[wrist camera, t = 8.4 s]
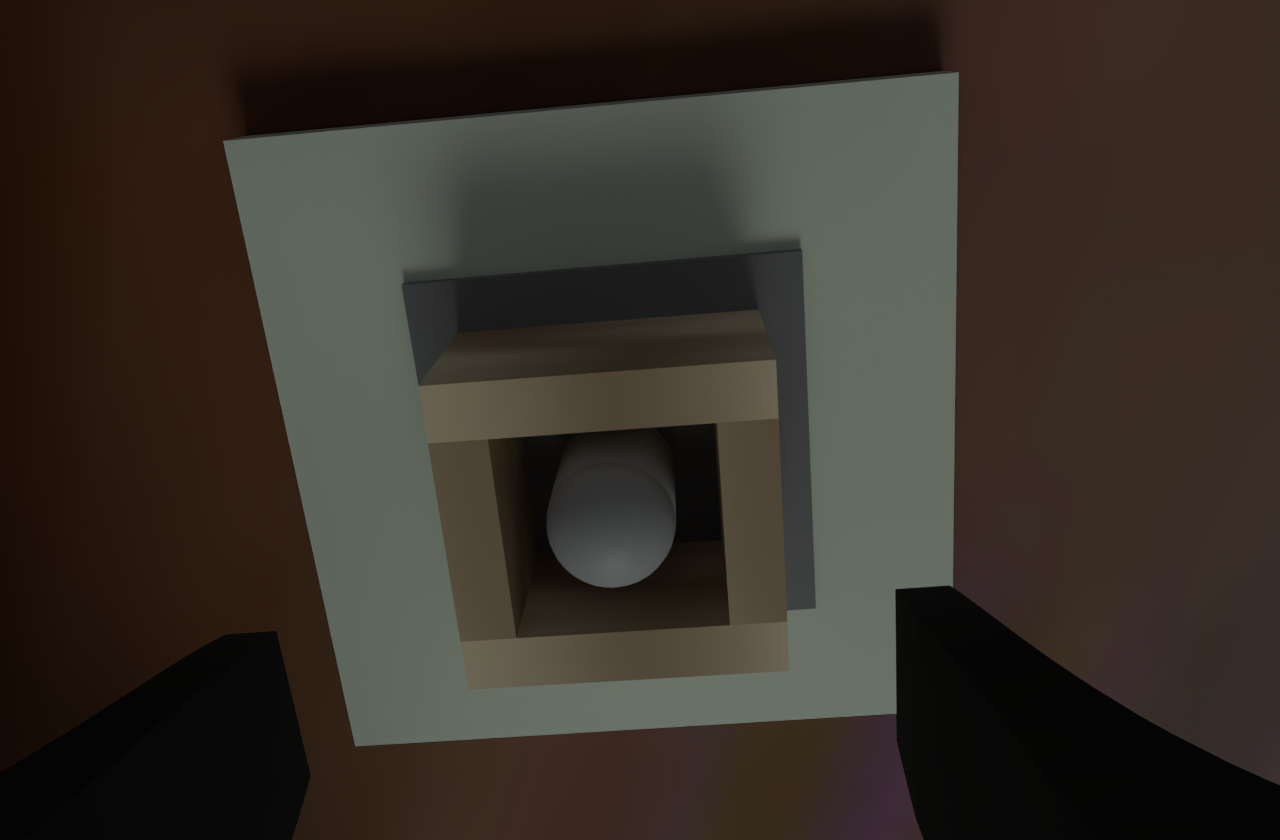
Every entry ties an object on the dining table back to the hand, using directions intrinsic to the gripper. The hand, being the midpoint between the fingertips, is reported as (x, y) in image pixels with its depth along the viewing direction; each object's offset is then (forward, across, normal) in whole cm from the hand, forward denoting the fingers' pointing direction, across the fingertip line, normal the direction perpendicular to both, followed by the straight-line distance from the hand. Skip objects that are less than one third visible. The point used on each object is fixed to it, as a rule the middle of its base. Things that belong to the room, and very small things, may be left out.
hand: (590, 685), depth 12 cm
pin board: (+8, 0, 0) cm, 8 cm away
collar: (+7, 0, 0) cm, 7 cm away
